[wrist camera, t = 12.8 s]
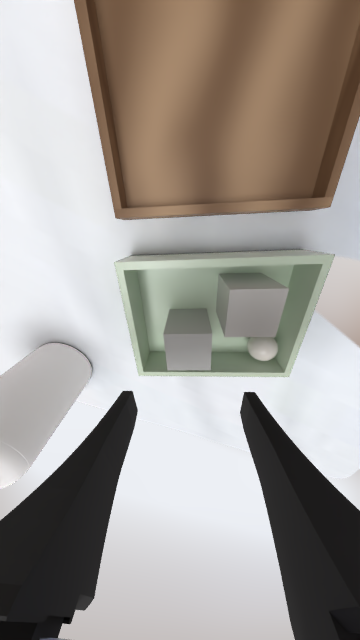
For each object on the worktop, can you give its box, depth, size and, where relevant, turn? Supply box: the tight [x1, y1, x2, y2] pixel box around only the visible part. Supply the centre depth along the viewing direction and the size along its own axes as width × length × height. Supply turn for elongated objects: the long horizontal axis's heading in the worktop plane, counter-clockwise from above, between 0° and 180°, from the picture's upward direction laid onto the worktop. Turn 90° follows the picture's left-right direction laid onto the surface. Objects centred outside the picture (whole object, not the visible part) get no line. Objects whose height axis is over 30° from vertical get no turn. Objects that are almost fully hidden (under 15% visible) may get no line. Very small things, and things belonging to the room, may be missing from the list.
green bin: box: [114, 249, 335, 377], centre depth 17 cm, size 16×12×4 cm
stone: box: [163, 308, 212, 370], centre depth 17 cm, size 4×4×5 cm
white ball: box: [247, 337, 278, 361], centre depth 18 cm, size 3×3×3 cm
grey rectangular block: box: [216, 273, 289, 337], centre depth 15 cm, size 4×4×5 cm
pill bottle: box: [0, 343, 92, 489], centre depth 17 cm, size 8×8×15 cm
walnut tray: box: [74, 0, 360, 220], centre depth 11 cm, size 16×12×2 cm
